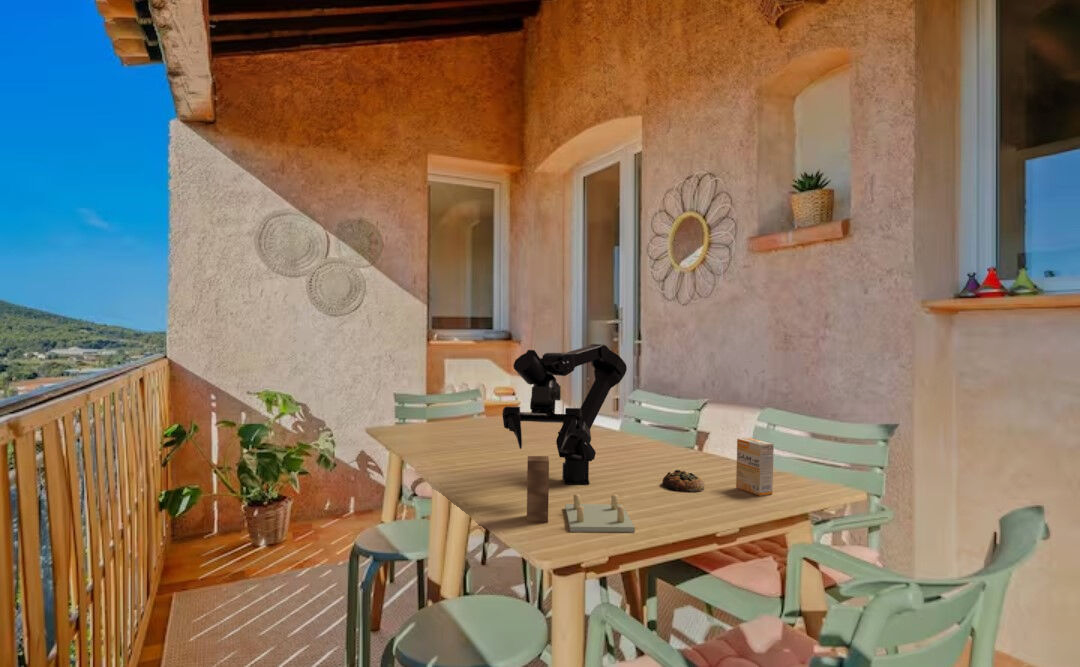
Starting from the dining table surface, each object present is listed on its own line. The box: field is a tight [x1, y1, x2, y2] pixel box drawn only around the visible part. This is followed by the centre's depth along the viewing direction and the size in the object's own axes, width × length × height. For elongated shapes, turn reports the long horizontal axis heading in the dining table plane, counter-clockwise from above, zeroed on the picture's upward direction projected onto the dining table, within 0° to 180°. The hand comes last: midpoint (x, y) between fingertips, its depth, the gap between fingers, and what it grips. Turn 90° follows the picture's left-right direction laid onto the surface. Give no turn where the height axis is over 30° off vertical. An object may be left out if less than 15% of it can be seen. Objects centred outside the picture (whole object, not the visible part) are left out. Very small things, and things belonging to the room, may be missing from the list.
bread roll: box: [662, 469, 706, 493], centre depth 148 cm, size 11×11×5 cm
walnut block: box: [526, 455, 550, 524], centre depth 120 cm, size 4×4×13 cm
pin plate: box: [564, 493, 636, 533], centre depth 120 cm, size 13×15×4 cm
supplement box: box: [735, 437, 775, 497], centre depth 144 cm, size 8×5×13 cm, turn 25°
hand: (540, 448), depth 128 cm, fingers open, 9 cm apart
